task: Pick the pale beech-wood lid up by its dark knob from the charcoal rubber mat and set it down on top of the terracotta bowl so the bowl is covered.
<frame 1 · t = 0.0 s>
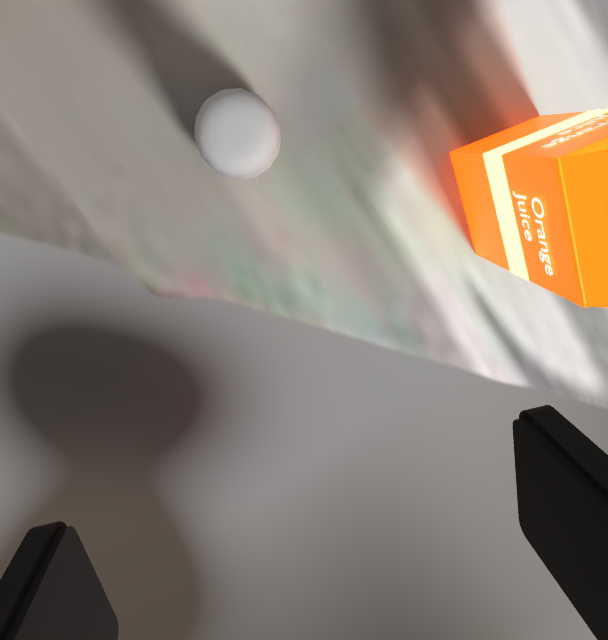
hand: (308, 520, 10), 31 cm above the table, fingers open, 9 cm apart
orange juice: (505, 187, 40), on the table
salt shaker: (239, 137, 37), on the table
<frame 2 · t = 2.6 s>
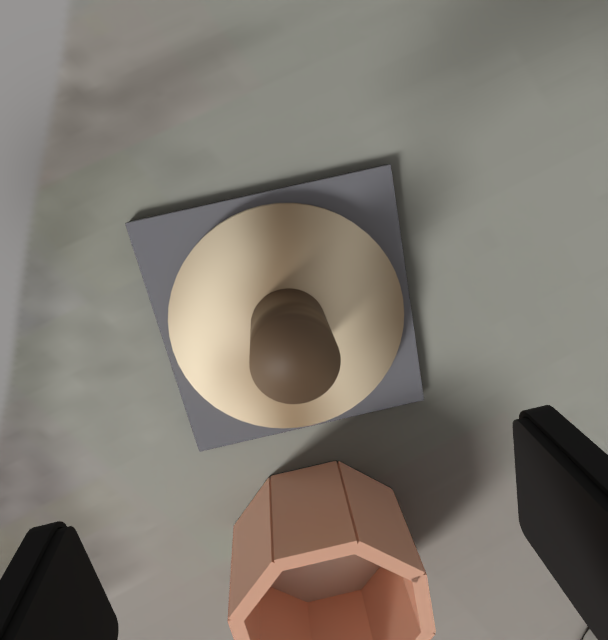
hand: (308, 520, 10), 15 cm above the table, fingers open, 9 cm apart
mat: (286, 315, 25), on the table
lid: (287, 319, 24), point 1 cm above the table, touching mat
bowl: (319, 534, 29), on the table
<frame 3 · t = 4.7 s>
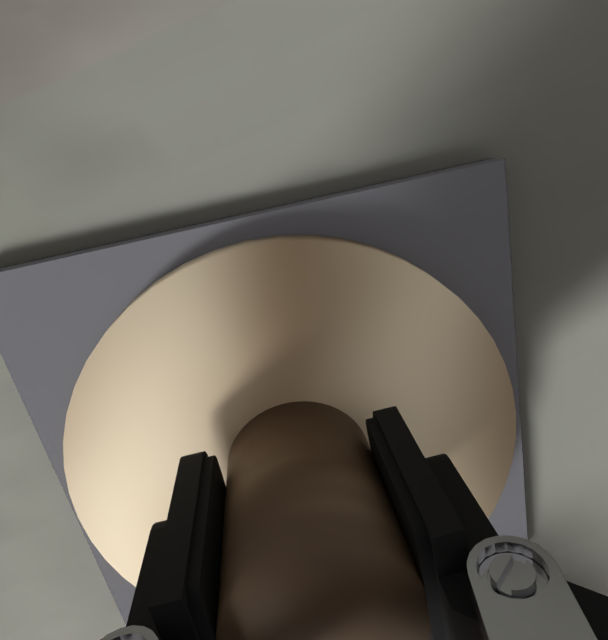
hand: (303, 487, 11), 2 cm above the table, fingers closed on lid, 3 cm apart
mat: (294, 433, 14), on the table
lid: (296, 446, 13), point 1 cm above the table, touching gripper, mat
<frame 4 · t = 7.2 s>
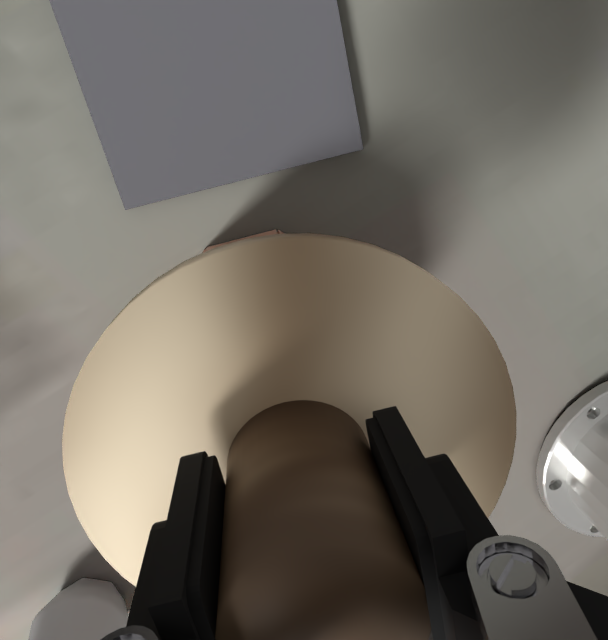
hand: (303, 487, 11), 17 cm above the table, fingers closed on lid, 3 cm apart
salt shaker: (91, 598, 33), on the table
mat: (209, 46, 23), on the table
lid: (296, 445, 13), point 15 cm above the table, touching gripper
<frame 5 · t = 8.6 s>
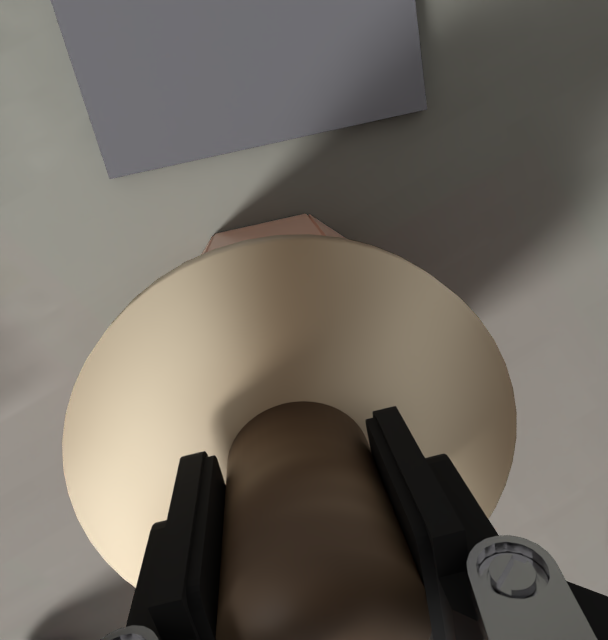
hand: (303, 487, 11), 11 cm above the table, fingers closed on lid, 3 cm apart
lid: (296, 446, 13), point 9 cm above the table, touching gripper
bowl: (285, 329, 22), on the table
when the fingers open (9 cm above the table, at t = 9.6 s): lid drops 1 cm, resting on bowl.
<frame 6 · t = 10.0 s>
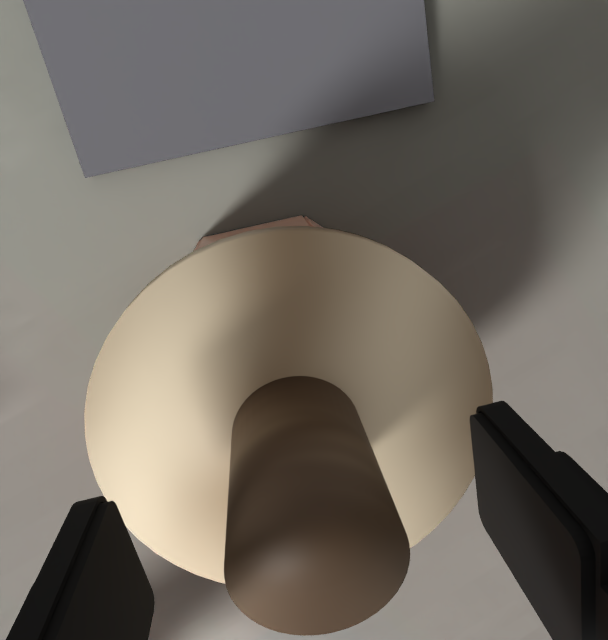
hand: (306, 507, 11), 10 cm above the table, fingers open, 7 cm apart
lid: (294, 419, 14), point 6 cm above the table, touching bowl
bowl: (280, 340, 20), on the table
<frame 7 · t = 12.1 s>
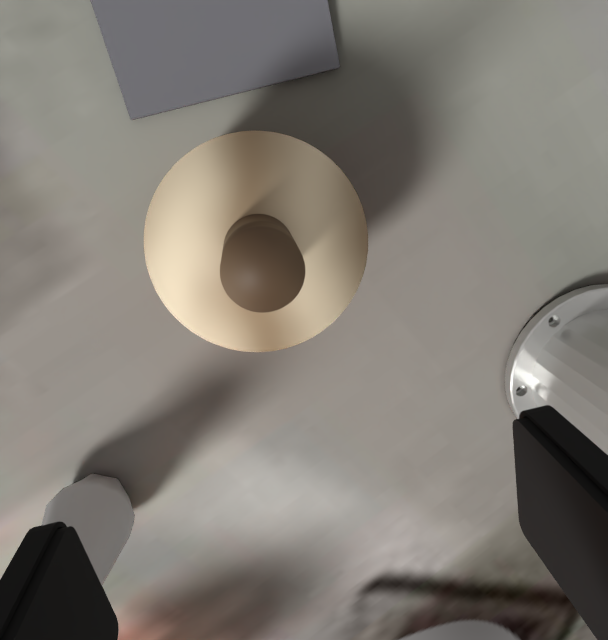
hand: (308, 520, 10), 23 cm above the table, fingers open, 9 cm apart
salt shaker: (99, 495, 36), on the table
lid: (258, 246, 25), point 6 cm above the table, touching bowl
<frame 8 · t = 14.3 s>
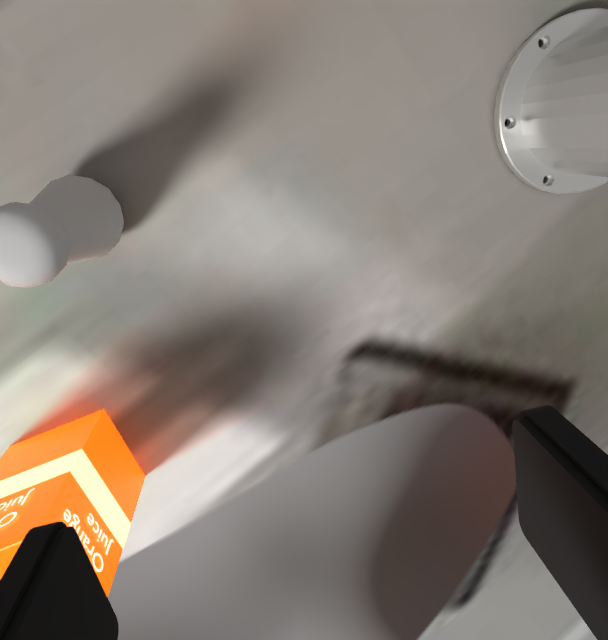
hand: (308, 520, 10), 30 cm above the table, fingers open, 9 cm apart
orange juice: (80, 460, 44), on the table
salt shaker: (90, 213, 37), on the table
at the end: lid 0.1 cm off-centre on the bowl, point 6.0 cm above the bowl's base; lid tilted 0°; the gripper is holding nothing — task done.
